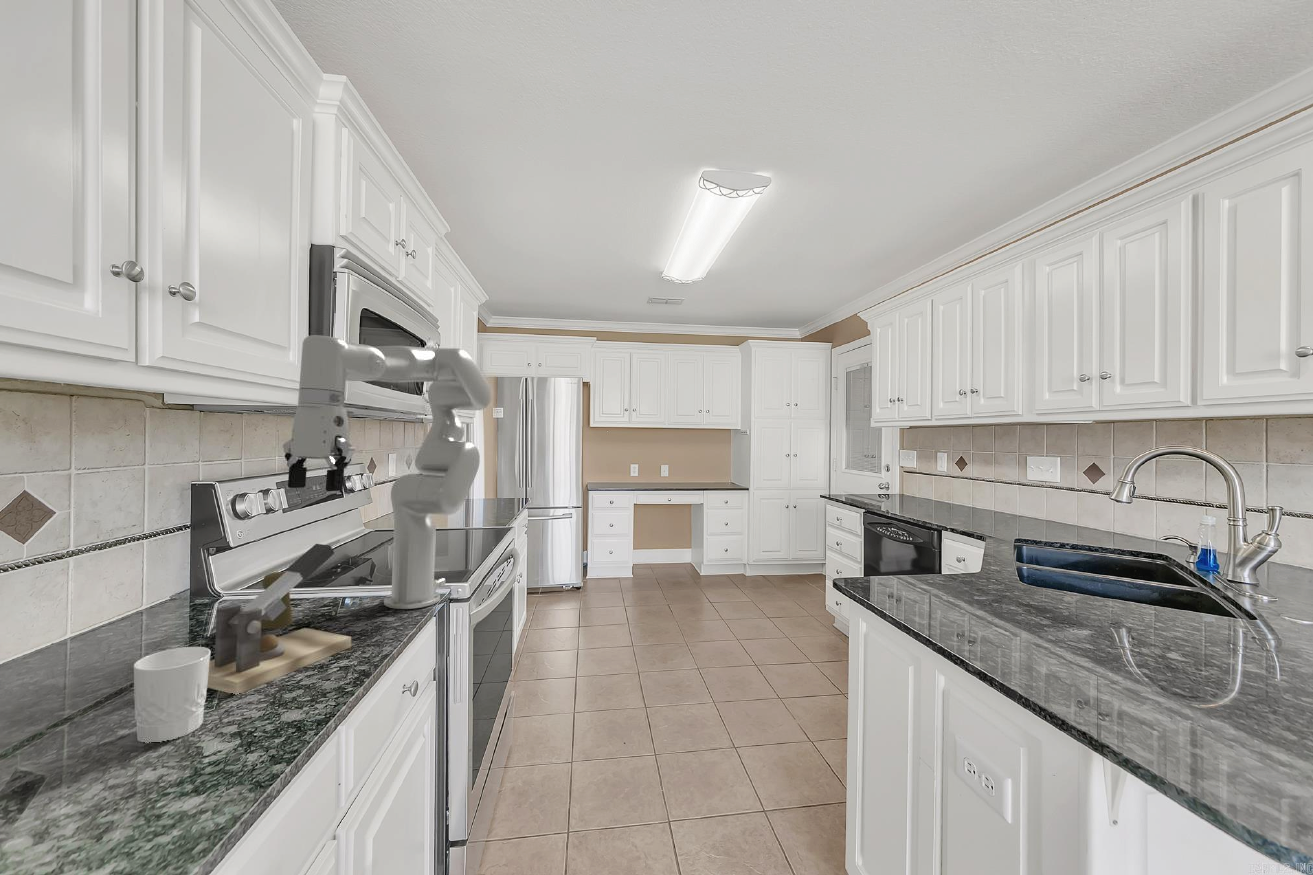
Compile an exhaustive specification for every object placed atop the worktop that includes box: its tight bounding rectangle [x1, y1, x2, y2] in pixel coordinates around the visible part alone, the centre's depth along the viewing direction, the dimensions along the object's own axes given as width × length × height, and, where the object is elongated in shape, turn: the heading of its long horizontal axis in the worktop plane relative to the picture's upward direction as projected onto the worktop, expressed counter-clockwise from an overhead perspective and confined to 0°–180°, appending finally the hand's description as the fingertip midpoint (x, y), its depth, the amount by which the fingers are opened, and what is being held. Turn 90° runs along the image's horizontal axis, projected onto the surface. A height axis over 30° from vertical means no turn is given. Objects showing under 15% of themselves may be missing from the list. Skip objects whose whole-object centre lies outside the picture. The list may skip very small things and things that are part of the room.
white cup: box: [133, 646, 212, 744], centre depth 74 cm, size 8×8×10 cm
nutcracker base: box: [207, 603, 352, 696], centre depth 96 cm, size 21×12×12 cm, turn 162°
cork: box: [261, 571, 294, 630], centre depth 114 cm, size 6×6×11 cm
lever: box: [228, 543, 335, 629], centre depth 97 cm, size 19×4×4 cm
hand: (315, 489), depth 103 cm, fingers open, 9 cm apart
